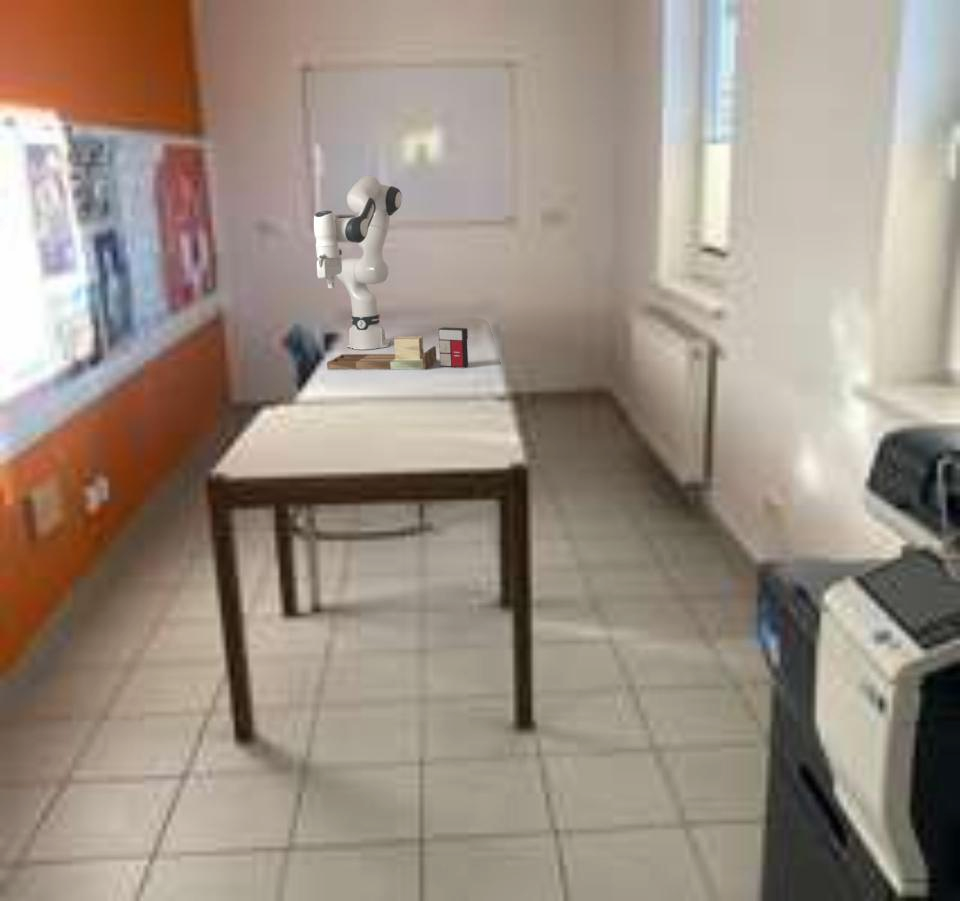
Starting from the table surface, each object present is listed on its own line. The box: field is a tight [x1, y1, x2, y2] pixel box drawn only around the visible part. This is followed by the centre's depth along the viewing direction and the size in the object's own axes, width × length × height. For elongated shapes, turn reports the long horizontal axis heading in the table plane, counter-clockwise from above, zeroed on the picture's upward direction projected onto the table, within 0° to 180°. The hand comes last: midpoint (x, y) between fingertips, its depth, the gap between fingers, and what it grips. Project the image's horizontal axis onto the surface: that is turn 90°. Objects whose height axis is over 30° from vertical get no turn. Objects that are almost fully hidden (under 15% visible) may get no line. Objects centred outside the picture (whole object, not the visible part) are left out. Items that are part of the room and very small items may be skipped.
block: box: [393, 336, 425, 360], centre depth 391 cm, size 6×10×8 cm, turn 78°
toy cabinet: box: [438, 326, 469, 368], centre depth 385 cm, size 11×4×15 cm, turn 62°
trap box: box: [326, 346, 438, 370], centre depth 395 cm, size 18×40×6 cm, turn 79°
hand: (331, 287), depth 399 cm, fingers closed
